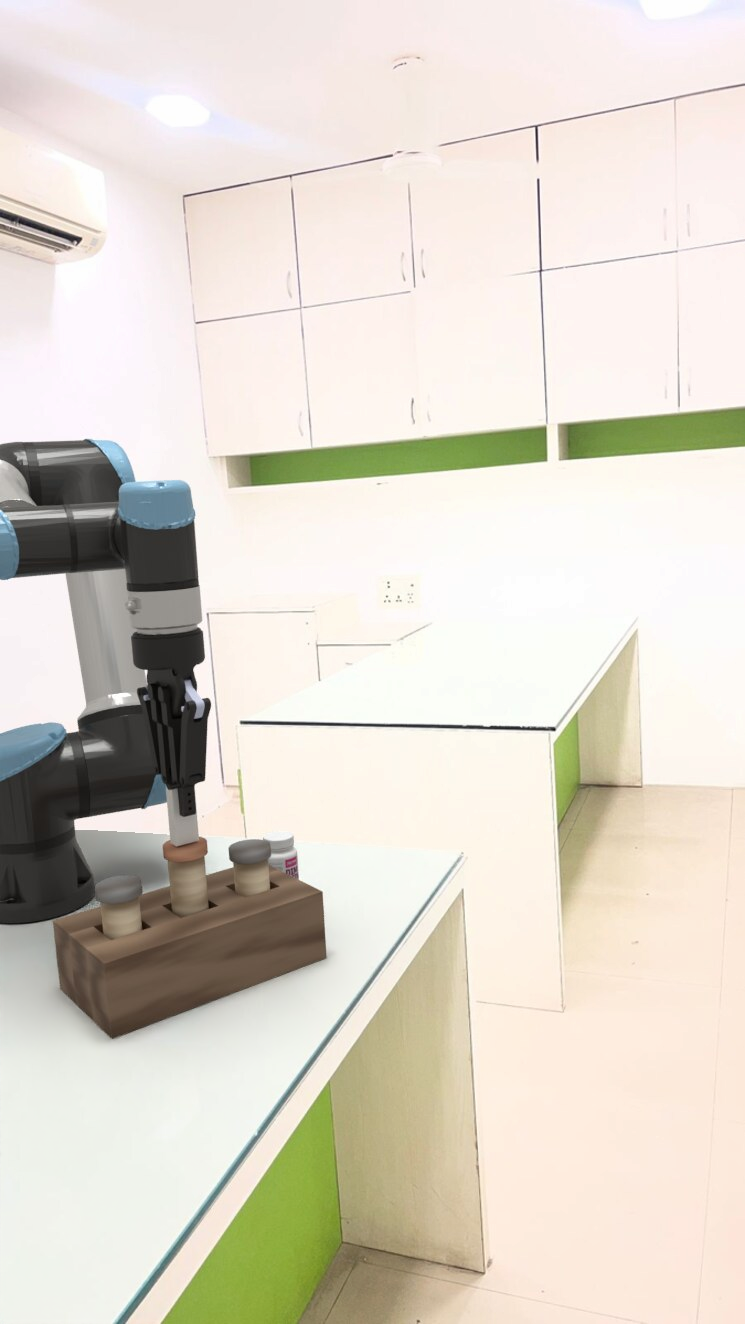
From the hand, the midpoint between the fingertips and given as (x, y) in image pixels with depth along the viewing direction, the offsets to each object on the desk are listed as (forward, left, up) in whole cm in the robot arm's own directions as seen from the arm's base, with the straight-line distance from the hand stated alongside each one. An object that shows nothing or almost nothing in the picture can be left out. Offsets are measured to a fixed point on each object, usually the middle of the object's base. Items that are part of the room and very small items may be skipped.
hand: (184, 841), depth 114 cm
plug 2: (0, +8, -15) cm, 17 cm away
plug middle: (0, 0, -12) cm, 12 cm away
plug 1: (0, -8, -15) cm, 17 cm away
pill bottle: (-12, +19, -16) cm, 27 cm away
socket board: (0, 0, -15) cm, 15 cm away
